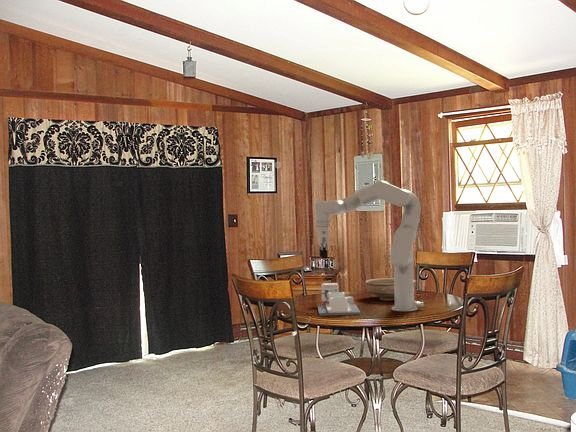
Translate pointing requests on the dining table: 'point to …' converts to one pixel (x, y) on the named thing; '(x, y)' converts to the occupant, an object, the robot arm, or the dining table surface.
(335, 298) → the rail panel
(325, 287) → the ink box
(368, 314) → the dining table surface
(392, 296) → the ceramic bowl
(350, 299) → the block
